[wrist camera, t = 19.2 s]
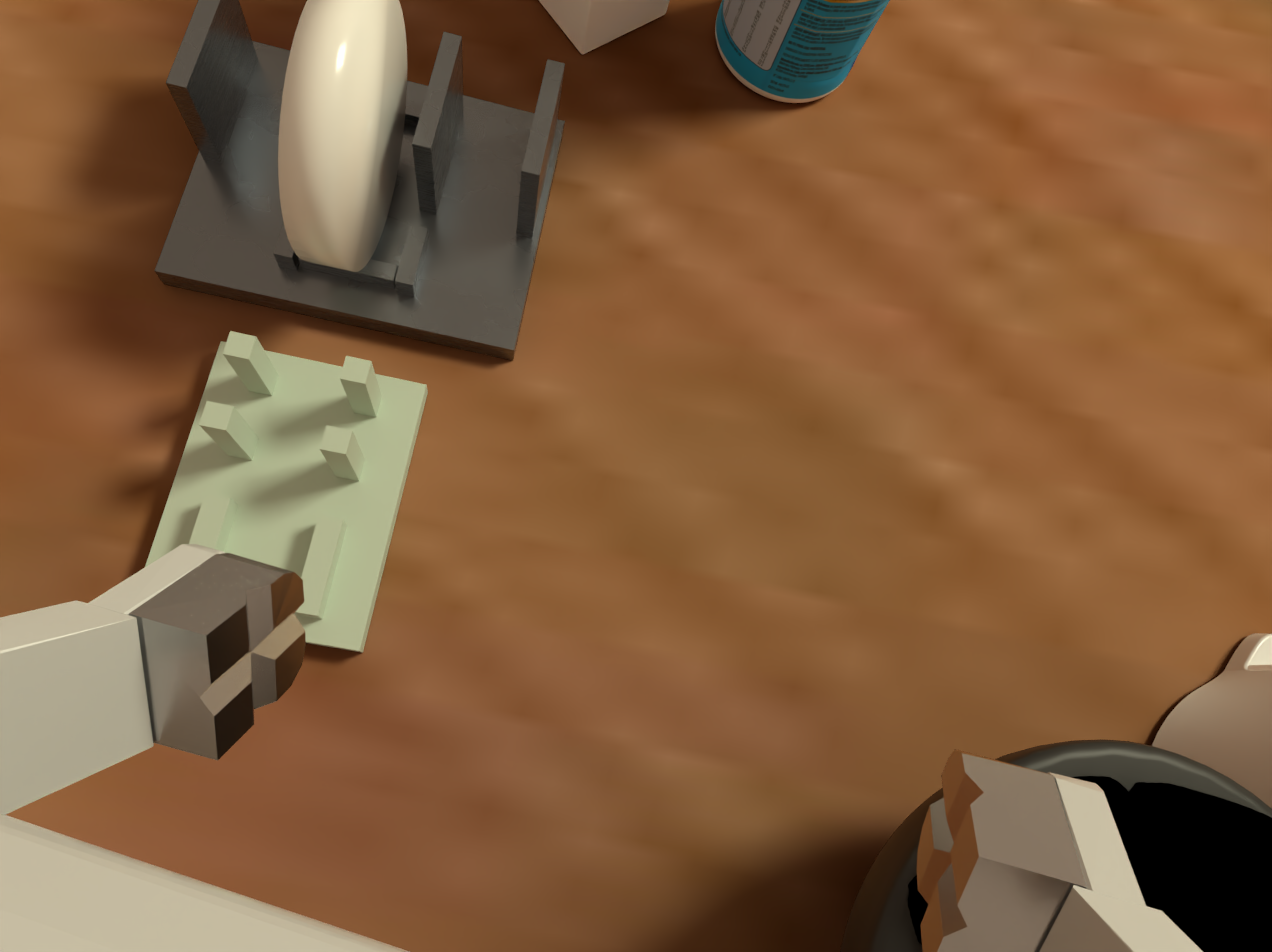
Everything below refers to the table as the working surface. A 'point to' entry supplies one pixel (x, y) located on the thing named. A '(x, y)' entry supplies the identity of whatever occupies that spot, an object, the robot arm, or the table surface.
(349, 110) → the plate
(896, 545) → the table surface
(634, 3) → the milk
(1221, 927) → the bowl of black rocks
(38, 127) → the table surface
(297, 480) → the plate stand
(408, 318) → the dish rack
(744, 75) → the beverage bottle
